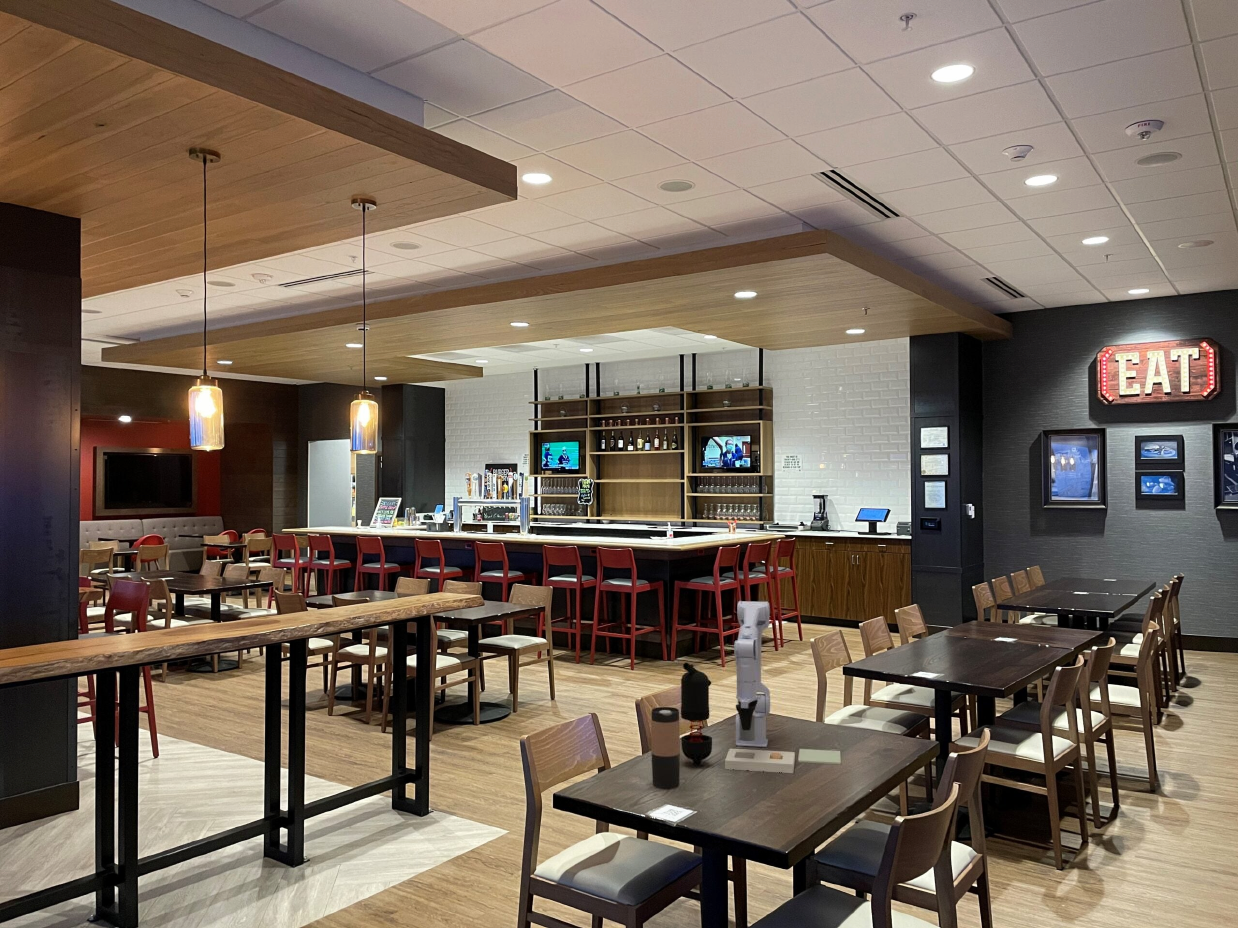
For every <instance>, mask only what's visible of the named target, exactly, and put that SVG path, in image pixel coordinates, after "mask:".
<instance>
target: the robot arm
mask: <svg viewBox="0 0 1238 928" xmlns="http://www.w3.org/2000/svg"><path fill="white" fill-rule="evenodd" d="M736 609H737V613H736V614H737V619H738V624H739V625H740V626H739V627H740V628H739V630H738V636H737V640H735V641H734V645H733V646H734V648H733V649H734V650H733V651H734V659H735V665H736V695H735V698H736V700H737V703H736V705H735V709H736V711H737V713H736V714H735V735H734V736H735V746H738V747H739V746H741V747H742V746H743V747H755V748H756V747H760V748H762V747H763V748H767V747H768V743H769V739H768V738H767V720H766V719H767V715H769V714H770V713H771V693H770V689H769V688H768V687H767V686H766V685H765V684H763V682H762V636H763V633H764V630H766V629H768V628H769V626H770V616H771V615H770V609H771V608H770V603H769V602H768V601H752V600H751V601H748V600H747V601H742V600H739V601H738V602H737V608H736ZM754 711H755V740H753V741H742V740H740V735H739V716H740V720H741V725H742V729H743V730H750V728H751V722H752V715H753V712H754Z"/></svg>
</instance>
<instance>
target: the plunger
mask: <svg viewBox="0 0 1238 928" xmlns="http://www.w3.org/2000/svg"><path fill="white" fill-rule="evenodd" d="M771 759H781V754H779V753H772V754H771Z"/></svg>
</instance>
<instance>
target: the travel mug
mask: <svg viewBox="0 0 1238 928" xmlns="http://www.w3.org/2000/svg"><path fill="white" fill-rule="evenodd" d="M650 739H651V742H650V743H651V745H650V746H651V749H650V750H651V770H652V773H651V774H652V786H653V787H655V788H657V789H660V790H661V789H662V790H672V789H677V788H678V787H679V786H680V768H681V767H680V765H681V763H680V762H681V746H680V745H681V743H680V739H681V738H680V710H679V708H676V707H673V706H672V707H671V706H659V707H658V706H657V707H654V708H652V709H651V736H650Z"/></svg>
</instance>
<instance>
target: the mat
mask: <svg viewBox="0 0 1238 928" xmlns="http://www.w3.org/2000/svg"><path fill="white" fill-rule="evenodd" d="M797 759H798V761H797V762H798V763H806V764H809V763H810V764H822V765H823V764H826V765H839V766H840V765H841V763H842V761H841V751H840V750H825V749H811V748H810V749H807V748H799V752H798V758H797Z"/></svg>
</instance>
